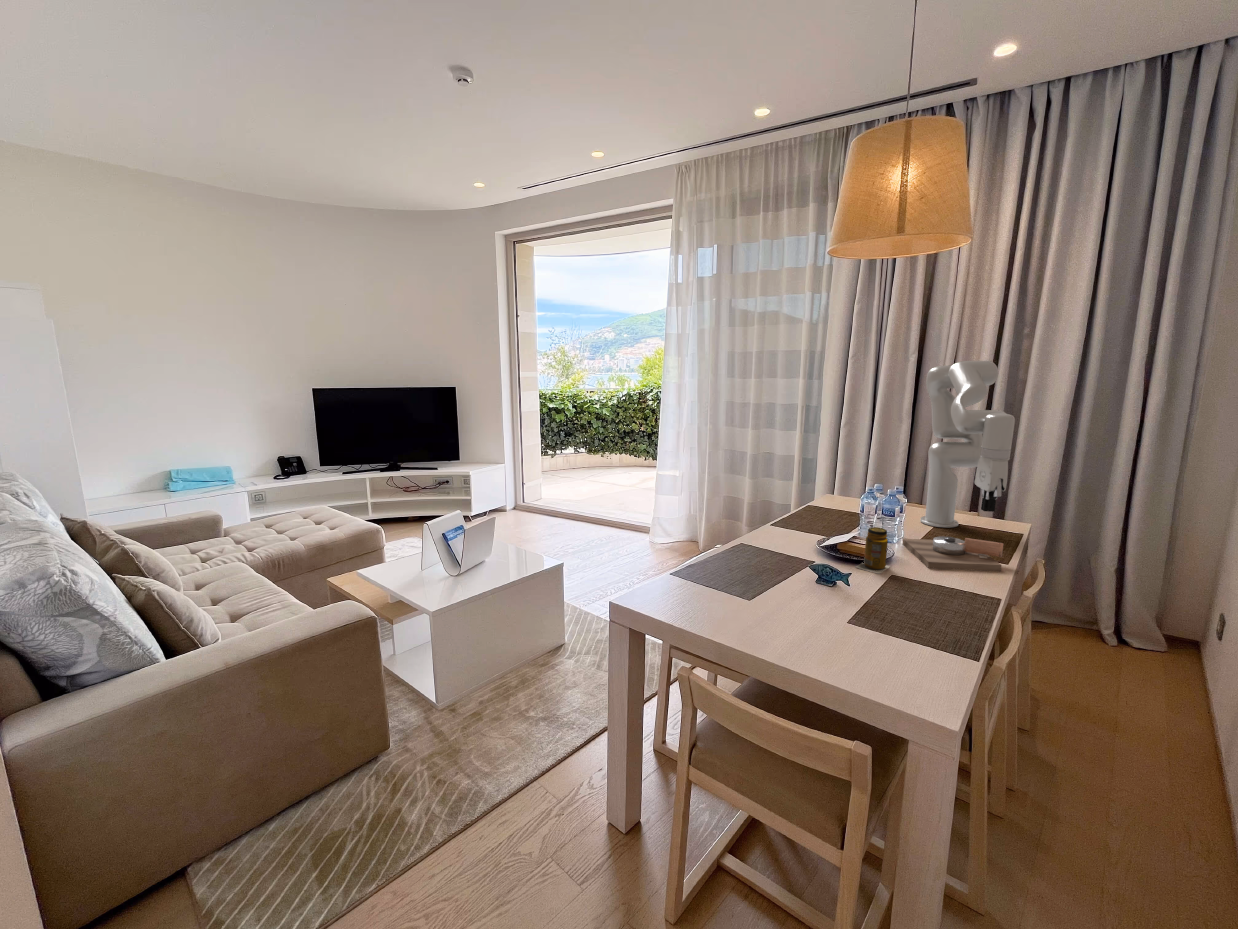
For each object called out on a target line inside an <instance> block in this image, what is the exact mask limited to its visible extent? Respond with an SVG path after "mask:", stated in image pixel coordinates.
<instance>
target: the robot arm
mask: <svg viewBox="0 0 1238 929" xmlns="http://www.w3.org/2000/svg"><path fill="white" fill-rule="evenodd" d="M998 378H999V369H998V366H997V365H996V364H995V362H993V361H990V360H963V361H958V362H956V363H954V364H952V365H939V366H938V365H937V366H935V367H932V368H931V369H930V370H928V372H927V374H926V382H925V386H926V391H927V394H928V397H929V400H930V404H931V405H930V406H931V429H932V434H933V436H934V438H937V439H944V440H945V439H950V440H951V439H955V440H958V439H959V440H963V441H939V442H935V443H933V444H931V445H930V446H929V448H928V452H927V455H928V456H927V457H928V467H929V468H928V482H927V483H928V485H927V494H926V495H927V496H926V505H925V515H924V516H921V517H920V523H922V524H925V525H927V526H931V527H937V528H956V527H958V526H959V521H958V520H956V519H955V513H956V504H957V502H956V501H957V494H958V487H959V486H958V482H959V480H958V477H957V475H956V473H955V472H954V471H953V468H956V469H957V468H967V469H969V468H970V469H971V468H972V469H973V468H976V470H975V477H974V485H976V487H978V488H979V489H980V490H981V498H982V499H981V506H980V510H981V511H982V512H989V513H990V512H991V513H993V512H995V511H996V510H995V509H996V503H997V500H998V497H999V498H1000V497H1002V493H1004V492H1005V491H1006V489H1007V484H1008V475H1009V461H1010V459H1011V452H1012V446H1013V445H1012V443H1013V437H1014V430H1015V424H1016V423H1015V422H1016V419H1015V417H1014V415H1012V414H1009V413H1006V412H1005V411H1004V410H999V409H996V410H995V409H991V410H989V409H966V408H968V407H971V406H973V405H977V404H978V403H979V402H981V401H983V400H984V399H985V398H986V397H987V395H988V393H989V390H988V389H989V388H988V386H991V385H993V384H995V383H996V382H997V380H998ZM948 389H954V390H955V393H956V396H955V395H954V394H953V393H952V392H951V391H950V390H948Z"/></svg>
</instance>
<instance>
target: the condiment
mask: <svg viewBox="0 0 1238 929" xmlns="http://www.w3.org/2000/svg"><path fill="white" fill-rule="evenodd" d="M865 537H866V538H865V547H864V556H865V557H864V556H863V562H864V563H863V562H861V563H860V564H858V565H856V566H855V568H857V569H859V570H863V571H868V572H871V573H874V574H879V575H881V574H883V572H885V571H887V570H888V569H889V568H890V567H891V565H887V552H888V541H889V540H888V538H887V537H888V531H887V529H885V528H883V527H876V526H875V527H874V526H872V527H869V528H868V529H867V536H865Z"/></svg>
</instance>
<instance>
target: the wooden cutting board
mask: <svg viewBox="0 0 1238 929" xmlns="http://www.w3.org/2000/svg"><path fill="white" fill-rule="evenodd" d="M902 545H903V546H904V547H905V548H906V549H907V550H908V551H909V552H910V553H911V554H912V555H913V556H914V557H916V558H917V559H918V560H919V561H920V562H921V563H922V564H923V565H924V566H925V567H926V568H927V569H936V570H938V569H939V570H962V571H981V572H982V571H985V572H987V571H988V572H1002V566H1003V565H1002V564H1001V563H999V562H998V561H997V560H995V559H993V558H992V557H991V556H990V555H984V554H977V553H971V552H966V553H965V554H962V555H950V554H944V553H940V552H937V551H935V550H934V549H933V539H925V538H924V539H922V538H920V539H919V538H902Z"/></svg>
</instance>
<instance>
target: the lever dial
mask: <svg viewBox="0 0 1238 929" xmlns="http://www.w3.org/2000/svg"><path fill="white" fill-rule="evenodd" d="M932 540H933V549H934V550H935V551H937V552H940V553H944V554H950V555H962V554H965V553H966V552H971V553H977V554H984V555H988V556H990V557H991V556H992V557H999V558H1001V557H1003V551H1004V543H1003V542H996V541H992V540H991V541H990V540H983V539H977V538H976V539H975V538H969V537H965V538H964V540H962V539H961V538H957V537H953V536H936V537H933V539H932Z"/></svg>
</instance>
